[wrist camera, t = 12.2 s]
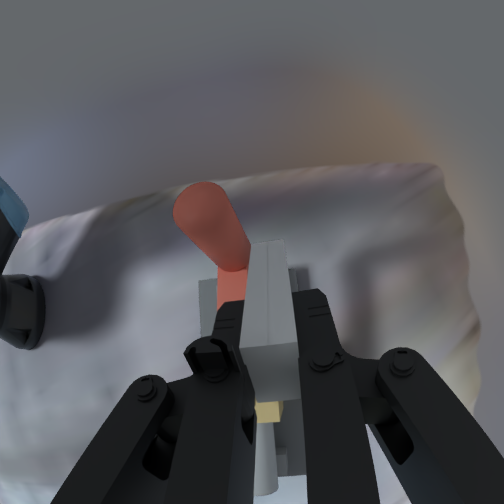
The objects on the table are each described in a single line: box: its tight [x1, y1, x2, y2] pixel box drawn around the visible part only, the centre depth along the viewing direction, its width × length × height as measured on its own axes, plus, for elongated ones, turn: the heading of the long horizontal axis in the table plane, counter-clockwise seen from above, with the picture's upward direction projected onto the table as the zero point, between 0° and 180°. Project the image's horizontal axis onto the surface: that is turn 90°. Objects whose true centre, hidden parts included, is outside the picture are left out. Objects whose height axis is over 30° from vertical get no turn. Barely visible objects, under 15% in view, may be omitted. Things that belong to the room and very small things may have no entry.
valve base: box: [199, 269, 307, 496], centre depth 25 cm, size 12×26×11 cm, turn 5°
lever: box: [173, 182, 256, 408], centre depth 17 cm, size 15×3×9 cm, turn 1°
